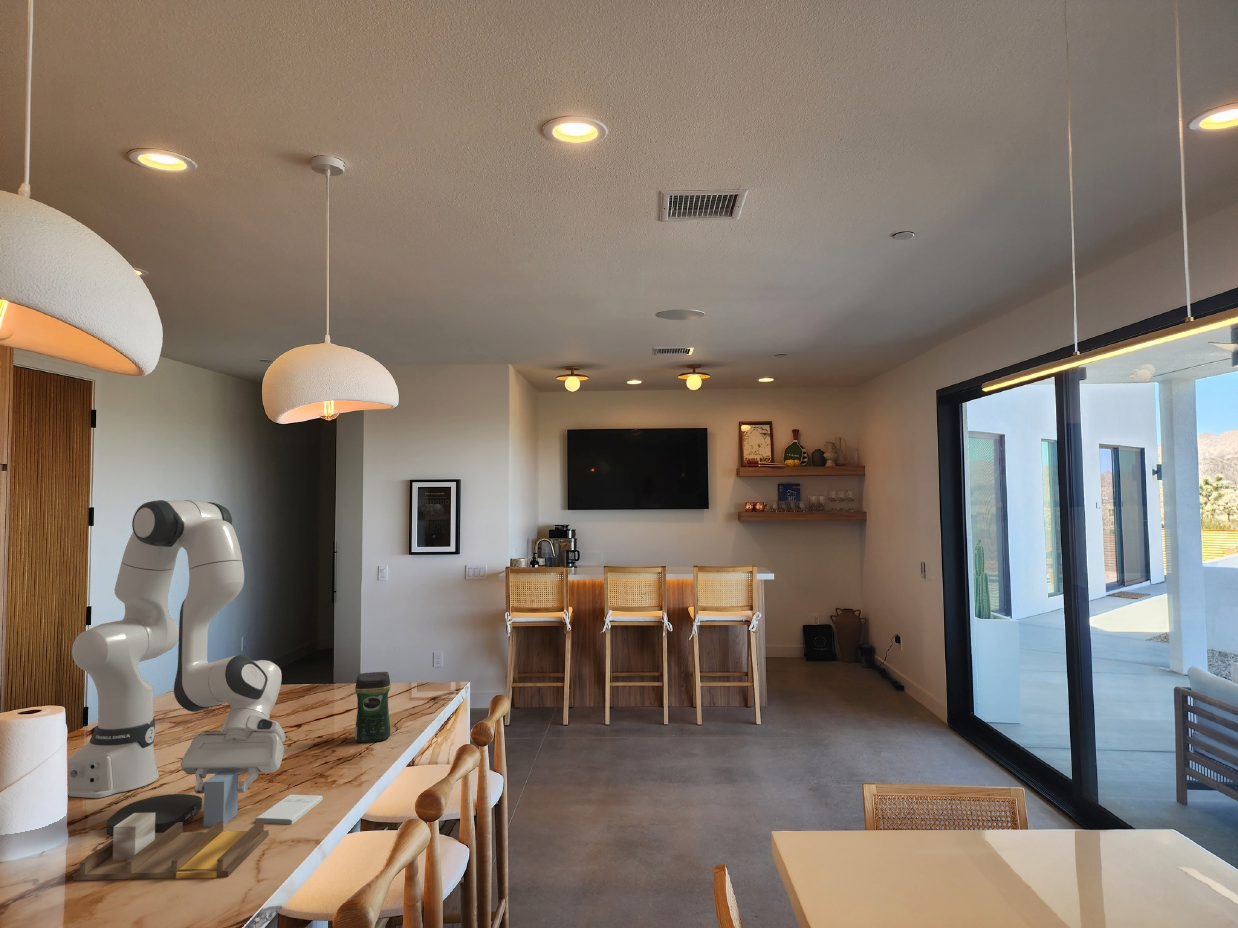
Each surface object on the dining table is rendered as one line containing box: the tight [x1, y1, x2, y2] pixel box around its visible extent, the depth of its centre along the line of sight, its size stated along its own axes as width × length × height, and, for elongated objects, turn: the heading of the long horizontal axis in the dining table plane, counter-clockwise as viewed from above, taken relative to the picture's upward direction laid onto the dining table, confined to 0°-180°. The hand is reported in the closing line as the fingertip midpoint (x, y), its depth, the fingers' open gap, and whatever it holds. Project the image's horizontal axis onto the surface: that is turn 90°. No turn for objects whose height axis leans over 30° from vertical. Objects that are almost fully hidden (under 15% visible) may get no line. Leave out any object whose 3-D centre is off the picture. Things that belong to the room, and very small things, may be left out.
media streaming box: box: [106, 793, 203, 836], centre depth 152 cm, size 15×15×3 cm
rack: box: [72, 813, 270, 881], centre depth 136 cm, size 27×16×7 cm, turn 92°
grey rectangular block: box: [202, 771, 239, 827], centre depth 152 cm, size 4×6×9 cm, turn 2°
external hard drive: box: [254, 794, 324, 825], centre depth 156 cm, size 2×8×12 cm
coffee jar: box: [354, 671, 391, 743], centre depth 205 cm, size 10×8×19 cm
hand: (220, 791), depth 152 cm, fingers open, 7 cm apart
